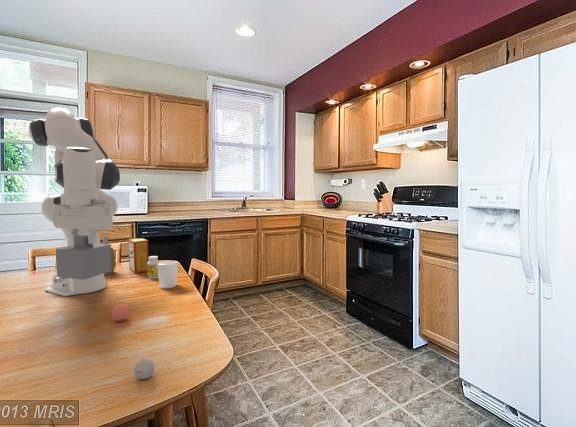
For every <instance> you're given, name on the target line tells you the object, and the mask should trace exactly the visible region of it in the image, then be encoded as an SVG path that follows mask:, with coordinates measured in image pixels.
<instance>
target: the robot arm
mask: <svg viewBox="0 0 576 427" xmlns="http://www.w3.org/2000/svg"><path fill="white" fill-rule="evenodd" d="M95 131H96V130H95V127H94V126H93V124H92V121H91V120H90V119H88V118H84V117H75V115H74V114H73V113H72V112H71V111H69V110H68V109H67V108H63V107H55V108H51V109H49V111H48V112H47V113H46V114H45V117H44V118H37V119H33V120H31V122H30V123H29V126H28V134H29V136H30V138H31V140H32V142H34V144H36V145H37V146H39V147H48V146H52V147H54V148H55V150H54V165H53V168H54V173H55V179H54V182H55V183H56V184H57V185H59V186H60V187H61V188H63V193H59V194H54V195H48V196H47V197H46V198H45V199H43V201H42V204H41V212H42V215H43V216H44V217H45V219H47V220H48V221H50V222H52V224H53V226H54V228H56V229H60V230H61V231H62V233H63V234H64V237H65V239H66V247H67V246H72V245H74V236H78V235H89V236H88V238H86V244H93V243H94V244H101V240H100V235H99V233H98V231H109V230H111V229H113V227H114V221H113V217H114V216H115V215H116V214H117V212H118V207H119V206H118V202H117V199H116V198H115V196H113V195H111V194H109V193H107V192H105V191H104V190H107V191H108V190H109V191H111V190H112V189H114V188H116V186H118V185H119V184H120V180H121V174H120V169H119V167H118V166H117V164H116V163H115V162H114V161H112V160H111V158H110V157H109V156H108V154H107V153H106V151H105V149H104V148H103V147H102V146H101V144H100V143H99V142H98V141H97V139H96V138H95V136H96V135H95V134H96V132H95ZM51 283H52V284H51V285H50V286H47V287H46V288H45V289H44V291H45V292H47V291H48V293H51V294H55V295H59V296H63V297H68V296H73V295H74V296H75V295H81V294H82V295H83V294H89V293H94V292H97V291H100V290H103V289H105V288H107V283H108V282H107V279H105V274H104V273H103V274H100V275H97V276H94V277H91V278H88V279H85V280H81V279H72V278H62V277H57V272H55V273H54V274H53V275H52V280H51Z"/></svg>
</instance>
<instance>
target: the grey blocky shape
mask: <svg viewBox="0 0 576 427" xmlns="http://www.w3.org/2000/svg"><path fill="white" fill-rule="evenodd" d="M88 236H89V235H78V236H74V245H72V246H67V245H66V246H62V247H58V248H55V259H56V273H57V277H62V278H72V279H81V280H85V279H88V278H91V277H94V276H97V275H100V274H103V273H106V272H110V271H111V251H110V245H109V244H102V243H100V244H94V243H93V244H86V238H88Z"/></svg>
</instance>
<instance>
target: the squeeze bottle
mask: <svg viewBox="0 0 576 427" xmlns="http://www.w3.org/2000/svg"><path fill="white" fill-rule="evenodd" d="M101 244H109V245H110V251H111V271H110V272H106V273H104V275H110V274H113V273H114V272H115V269H116V266H117V263H116V257H115V251H114V248H113V247H112V244H111V242H110V243H109V240H108V237H107V236H103V239H102V243H101Z"/></svg>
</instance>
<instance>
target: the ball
mask: <svg viewBox="0 0 576 427" xmlns="http://www.w3.org/2000/svg"><path fill="white" fill-rule="evenodd" d="M130 312H131V311H130V308H129V306H127V304H117V305H115V306H114V307H113V308H112V310H111V314H110V316H111V318H112V319H113V320H114V321H116V322H122V321H124V320H127V318H128V317H129V316H130Z"/></svg>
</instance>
